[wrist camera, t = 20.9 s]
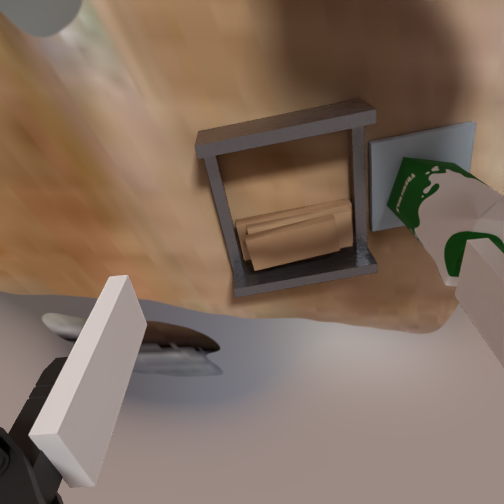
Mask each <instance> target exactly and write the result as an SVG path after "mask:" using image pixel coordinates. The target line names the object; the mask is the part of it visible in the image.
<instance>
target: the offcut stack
mask: <svg viewBox="0 0 504 504" xmlns="http://www.w3.org/2000/svg"><path fill="white" fill-rule="evenodd" d="M236 227H237V232H238V236H239V240H240V244H241V248H242V253H243V257H244V260H250V259H251V260H252V264H253V267H254V270H255V271H257V270H261V269H265V268H269V267H273V266H278V265H282V264H286V263H290V262H294V261H298V260H302V259H307V258H311V257H315V256H319V255H323V254H327V253H332V252H336V251H340V248H344V247H349V246H353V242H352V241H353V226H352V205H351V202H350V200H349V199H343V200H338V201H333V202H327V203H322V204H317V205H311V206H306V207H301V208H296V209H290V210H285V211H280V212H275V213H269V214H264V215H259V216H253V217H248V218H243V219H238V220H236Z"/></svg>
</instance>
